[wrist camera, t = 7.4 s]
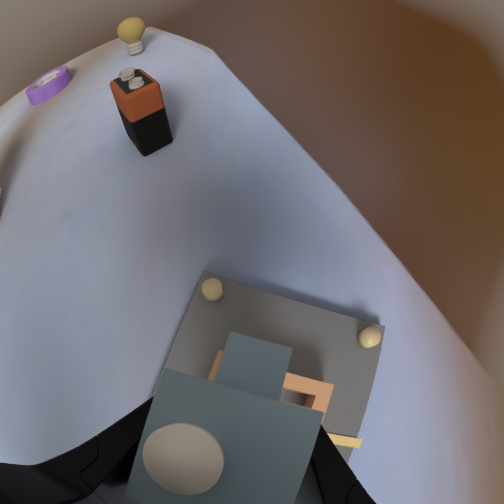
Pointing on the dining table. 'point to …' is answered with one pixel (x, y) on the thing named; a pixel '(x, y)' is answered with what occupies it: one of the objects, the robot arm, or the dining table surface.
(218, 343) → the chassis plate
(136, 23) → the light bulb
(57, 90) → the masking tape
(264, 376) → the block
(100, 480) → the robot arm
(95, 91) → the dining table surface
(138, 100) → the battery
